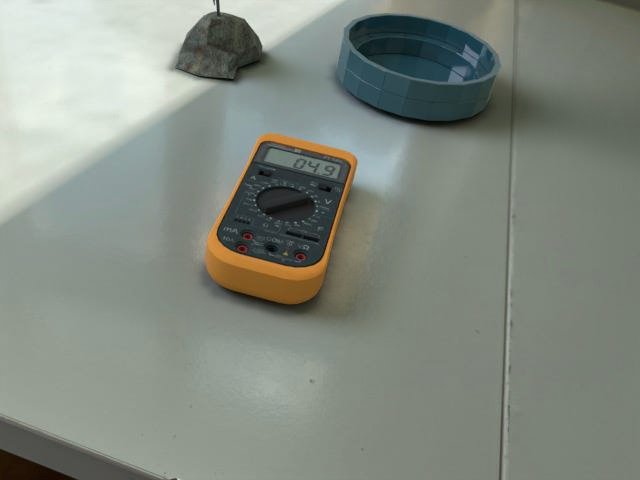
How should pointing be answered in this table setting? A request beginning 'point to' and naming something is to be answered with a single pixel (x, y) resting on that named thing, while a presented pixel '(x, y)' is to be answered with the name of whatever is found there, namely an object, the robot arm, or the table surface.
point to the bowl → (417, 66)
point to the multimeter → (281, 220)
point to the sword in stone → (219, 45)
